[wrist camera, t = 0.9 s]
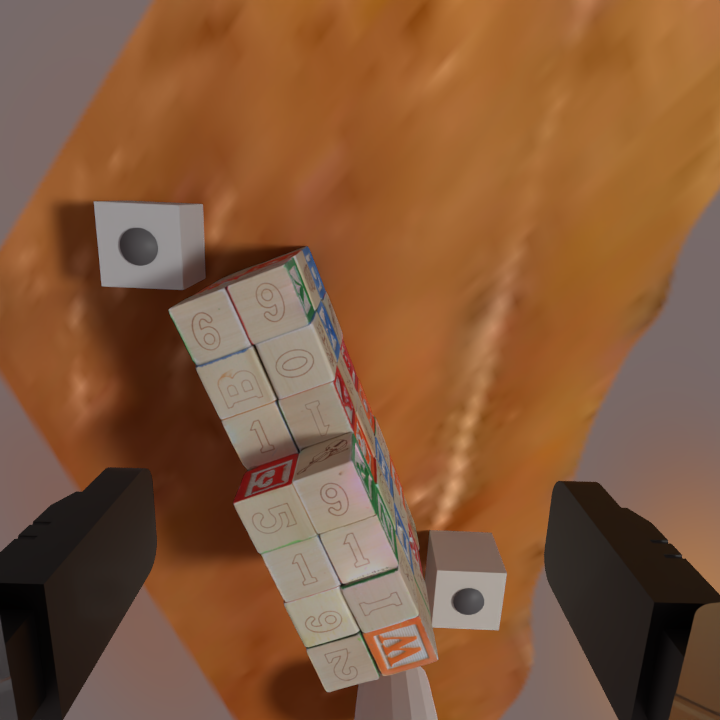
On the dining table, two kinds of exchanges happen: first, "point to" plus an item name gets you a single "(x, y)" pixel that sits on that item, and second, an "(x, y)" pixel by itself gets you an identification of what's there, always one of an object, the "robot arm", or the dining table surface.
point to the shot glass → (396, 697)
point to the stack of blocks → (312, 469)
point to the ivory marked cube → (464, 580)
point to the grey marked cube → (150, 244)
